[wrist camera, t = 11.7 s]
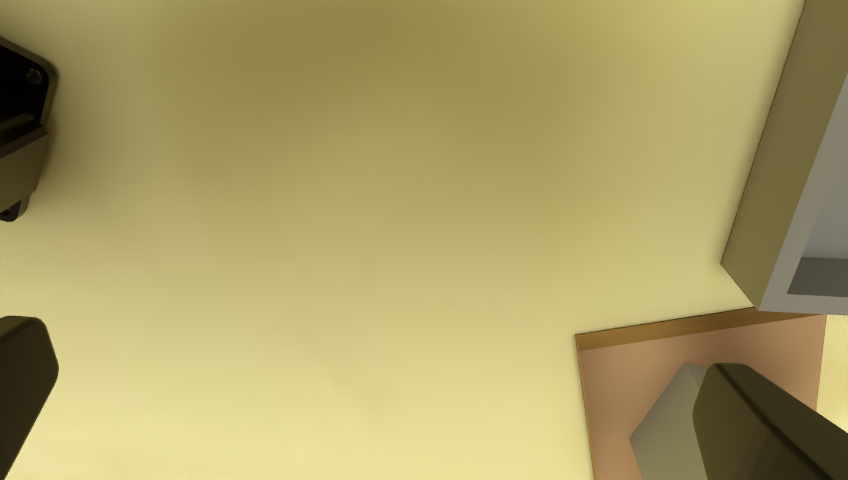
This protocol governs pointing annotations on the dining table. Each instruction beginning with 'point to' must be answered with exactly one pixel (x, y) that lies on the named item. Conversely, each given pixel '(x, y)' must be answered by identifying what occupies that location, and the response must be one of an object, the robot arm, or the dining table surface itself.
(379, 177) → the dining table surface
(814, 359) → the walnut pad
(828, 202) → the parts bin
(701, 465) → the labelled box
